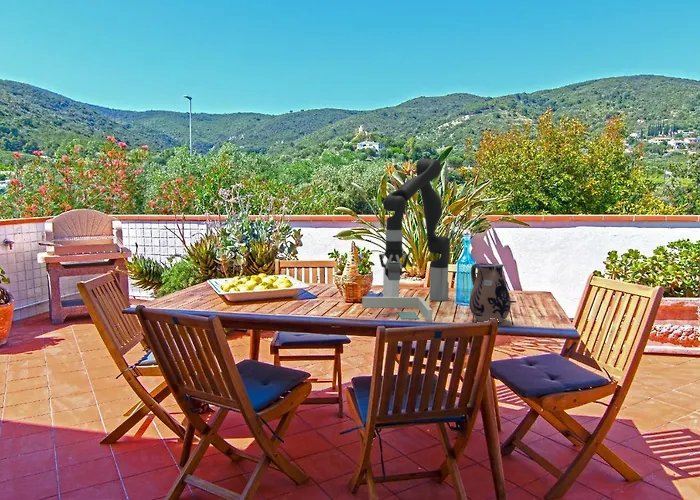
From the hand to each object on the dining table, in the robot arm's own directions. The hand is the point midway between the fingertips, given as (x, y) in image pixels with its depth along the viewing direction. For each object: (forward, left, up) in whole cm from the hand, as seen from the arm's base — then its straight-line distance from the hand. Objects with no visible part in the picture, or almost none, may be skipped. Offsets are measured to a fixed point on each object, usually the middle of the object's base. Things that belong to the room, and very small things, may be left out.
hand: (393, 276), depth 253 cm
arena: (-1, +1, -17) cm, 17 cm away
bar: (0, 0, -1) cm, 1 cm away
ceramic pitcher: (-39, +15, -17) cm, 46 cm away
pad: (-6, +5, -17) cm, 19 cm away
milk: (-2, -33, -17) cm, 37 cm away
